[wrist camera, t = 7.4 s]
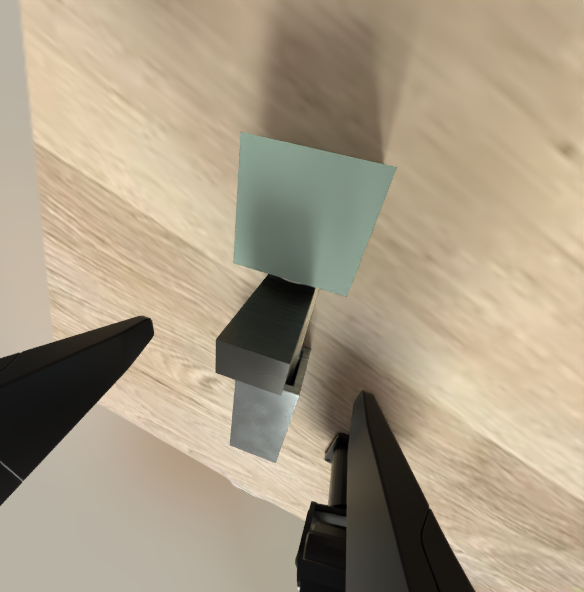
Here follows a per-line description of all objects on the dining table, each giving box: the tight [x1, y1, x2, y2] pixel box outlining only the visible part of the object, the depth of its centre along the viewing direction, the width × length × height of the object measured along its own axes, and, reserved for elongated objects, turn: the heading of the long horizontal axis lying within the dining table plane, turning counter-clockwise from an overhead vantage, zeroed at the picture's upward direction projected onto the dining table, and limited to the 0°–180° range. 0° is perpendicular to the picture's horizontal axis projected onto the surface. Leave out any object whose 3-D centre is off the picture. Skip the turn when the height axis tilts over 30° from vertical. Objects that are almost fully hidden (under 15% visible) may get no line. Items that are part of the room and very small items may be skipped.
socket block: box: [233, 132, 397, 297], centre depth 13 cm, size 6×6×6 cm
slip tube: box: [216, 274, 319, 396], centre depth 15 cm, size 18×3×9 cm, turn 169°
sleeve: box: [230, 346, 311, 463], centre depth 23 cm, size 12×5×5 cm, turn 169°
